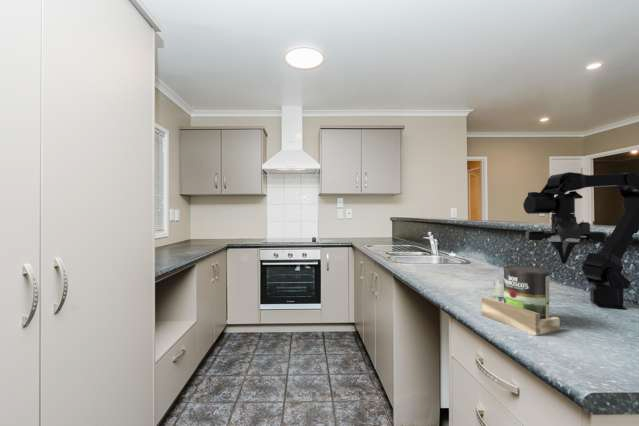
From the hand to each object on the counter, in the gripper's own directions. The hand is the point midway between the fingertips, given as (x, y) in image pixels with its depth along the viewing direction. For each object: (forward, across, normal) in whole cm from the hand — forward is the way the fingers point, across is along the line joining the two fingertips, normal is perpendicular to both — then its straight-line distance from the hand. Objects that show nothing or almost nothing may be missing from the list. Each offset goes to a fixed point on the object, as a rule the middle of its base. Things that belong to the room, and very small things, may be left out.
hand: (563, 263), depth 92 cm
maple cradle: (+13, -15, -22) cm, 30 cm away
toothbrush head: (+14, -16, +6) cm, 22 cm away
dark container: (+13, -13, -20) cm, 27 cm away
